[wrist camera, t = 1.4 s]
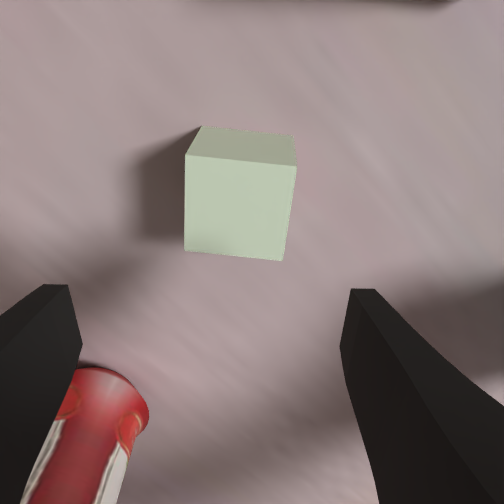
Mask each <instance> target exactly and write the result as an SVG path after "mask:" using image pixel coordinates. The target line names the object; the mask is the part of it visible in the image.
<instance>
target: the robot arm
mask: <svg viewBox="0 0 504 504" xmlns="http://www.w3.org/2000/svg"><path fill="white" fill-rule="evenodd" d="M82 345H83V343H82V339H81V335H80V331H79V327H78V324H77V320H76V316H75V312H74V308H73V304H72V300H71V296H70V292H69V288H68V285H53V284H43V285H42V286H40V287H39V288H37V289H36V290H34V291H33V292H31V293H30V294H29V295H27V296H26V297H25V298H23V299H22V300H21V301H19V302H18V303H17V304H15V305H14V306H13V307H11V308H10V309H9V310H7V311H6V312H5V313H3V314H2V315H1V316H0V504H20V502H21V499H22V496H23V493H24V490H25V487H26V484H27V482H28V479H29V477H30V474H31V472H32V469H33V467H34V464H35V462H36V460H37V458H38V455H39V453H40V451H41V449H42V446H43V444H44V442H45V440H46V438H47V435H48V433H49V431H50V429H51V427H52V424H53V422H54V420H55V418H56V416H57V413H58V411H59V409H60V407H61V404H62V402H63V400H64V398H65V395H66V393H67V391H68V388H69V386H70V384H71V381H72V379H73V375H74V372H75V369H76V366H77V363H78V359H79V355H80V352H81V348H82ZM340 352H341V358H342V365H343V370H344V376H345V381H346V385H347V389H348V392H349V395H350V399H351V402H352V406H353V409H354V412H355V416H356V419H357V422H358V425H359V429H360V432H361V435H362V439H363V442H364V445H365V449H366V452H367V455H368V458H369V462H370V465H371V469H372V473H373V477H374V481H375V485H376V490H377V495H378V500H379V504H504V406H503V405H502V404H500V403H499V402H498V401H496V400H495V399H494V398H492V397H491V396H490V395H488V394H487V393H486V392H485V391H483V390H482V389H481V388H479V387H478V386H477V385H476V384H474V383H473V382H472V381H471V380H469V379H468V378H467V377H466V376H465V375H463V374H462V373H461V372H460V371H459V370H458V369H456V368H455V367H454V366H453V365H452V364H451V363H450V362H448V361H447V360H446V359H445V358H444V357H443V356H442V355H441V354H439V353H438V352H437V351H436V350H435V349H434V348H433V347H432V346H431V345H430V344H429V343H428V342H427V341H426V340H425V339H423V338H422V337H421V336H420V335H419V334H418V333H417V332H416V331H415V330H414V329H413V328H412V327H411V326H410V325H409V324H408V323H407V322H406V321H405V320H404V319H403V318H402V317H401V316H400V315H399V313H398V312H397V311H396V310H395V309H394V308H393V307H392V306H391V305H390V304H389V303H388V302H387V301H386V300H385V299H384V298H383V297H382V296H381V295H380V294H379V293H378V292H377V291H376V290H375V289H351V291H350V296H349V301H348V306H347V311H346V316H345V321H344V327H343V332H342V337H341V342H340Z"/></svg>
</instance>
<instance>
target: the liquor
mask: <svg viewBox="0 0 504 504" xmlns="http://www.w3.org/2000/svg"><path fill="white" fill-rule="evenodd" d="M148 420H149V410H148V407H147V404H146V402H145V401H144V399H143V398H142V396H141V395H140V394H139V393H138V391H137V390H136V389H135V388H134V386H133V385H132V384H131V383H130V382H129V381H128V380H127V379H126V378H125V377H123V376H122V375H120V374H118V373H117V372H114V371H112V370H109V369H105V368H98V367H89V368H82V369H76V370H75V372H74V375H73V379H72V381H71V384H70V386H69V388H68V391H67V393H66V395H65V398H64V400H63V402H62V404H61V407H60V409H59V411H58V413H57V416H56V418H55V420H54V422H53V424H52V427H51V429H50V431H49V433H48V435H47V438H46V440H45V442H44V444H43V446H42V449H41V451H40V453H39V455H38V458H37V460H36V462H35V464H34V467H33V469H32V472H31V474H30V477H29V479H28V482H27V484H26V487H25V490H24V493H23V496H22V499H21V502H20V504H116V503H117V499H118V496H119V492H120V489H121V485H122V482H123V479H124V475H125V472H126V468H127V465H128V462H129V458H130V455H131V451H132V448H133V444H134V441H135V438H136V436H137V435H139V434H140V433H141V432H142V431H143V430H144V429H145V427H146V426H147V424H148Z"/></svg>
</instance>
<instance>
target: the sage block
mask: <svg viewBox="0 0 504 504" xmlns="http://www.w3.org/2000/svg"><path fill="white" fill-rule="evenodd" d="M296 171H297V161H296V153H295V145H294V137H293V136H292V135H283V134H273V133H264V132H255V131H245V130H236V129H227V128H217V127H208V126H201V128H200V130H199V132H198V133H197V135H196V137H195V139H194V140H193V142H192V144H191V145H190V147H189V149H188V151H187V152H186V154H185V220H184V251H192V252H202V253H211V254H221V255H230V256H240V257H249V258H259V259H268V260H278V261H283V255H284V248H285V242H286V236H287V229H288V223H289V216H290V210H291V203H292V197H293V190H294V184H295V178H296Z"/></svg>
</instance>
